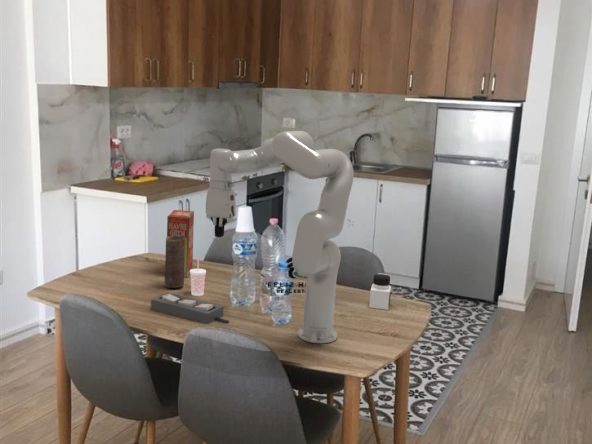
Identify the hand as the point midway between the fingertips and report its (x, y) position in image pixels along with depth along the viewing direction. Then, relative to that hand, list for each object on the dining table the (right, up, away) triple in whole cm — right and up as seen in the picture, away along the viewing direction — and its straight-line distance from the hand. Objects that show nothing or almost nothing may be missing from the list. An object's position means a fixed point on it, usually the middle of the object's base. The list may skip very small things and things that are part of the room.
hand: (219, 236), depth 226 cm
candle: (-20, -20, +21) cm, 35 cm away
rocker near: (-4, -24, -8) cm, 25 cm away
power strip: (-8, -26, -5) cm, 28 cm away
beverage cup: (-10, -22, +15) cm, 29 cm away
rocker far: (-17, -22, -2) cm, 27 cm away
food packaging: (-21, -16, +40) cm, 48 cm away
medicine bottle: (+58, -26, +13) cm, 65 cm away
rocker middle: (-10, -23, -5) cm, 26 cm away
